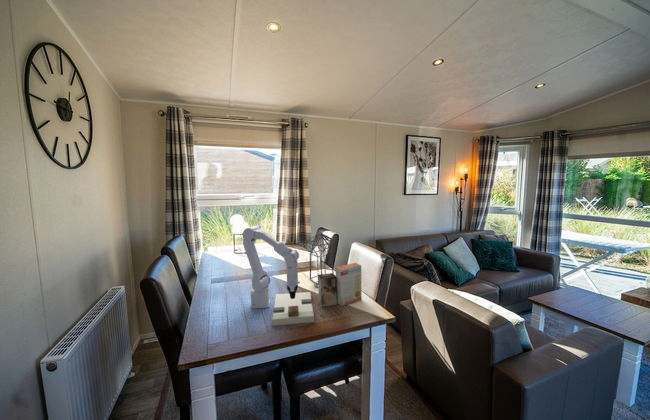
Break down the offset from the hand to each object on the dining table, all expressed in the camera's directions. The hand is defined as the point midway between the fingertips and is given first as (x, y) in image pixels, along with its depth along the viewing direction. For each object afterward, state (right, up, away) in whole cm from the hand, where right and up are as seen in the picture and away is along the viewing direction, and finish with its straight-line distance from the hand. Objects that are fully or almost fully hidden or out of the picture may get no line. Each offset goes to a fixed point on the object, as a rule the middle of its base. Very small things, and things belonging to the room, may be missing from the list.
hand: (292, 298), depth 130 cm
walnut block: (+2, -5, -9) cm, 10 cm away
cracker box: (+30, -5, +8) cm, 32 cm away
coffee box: (+19, -5, +7) cm, 20 cm away
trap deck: (0, -6, +1) cm, 6 cm away
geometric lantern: (+15, -3, +29) cm, 33 cm away
